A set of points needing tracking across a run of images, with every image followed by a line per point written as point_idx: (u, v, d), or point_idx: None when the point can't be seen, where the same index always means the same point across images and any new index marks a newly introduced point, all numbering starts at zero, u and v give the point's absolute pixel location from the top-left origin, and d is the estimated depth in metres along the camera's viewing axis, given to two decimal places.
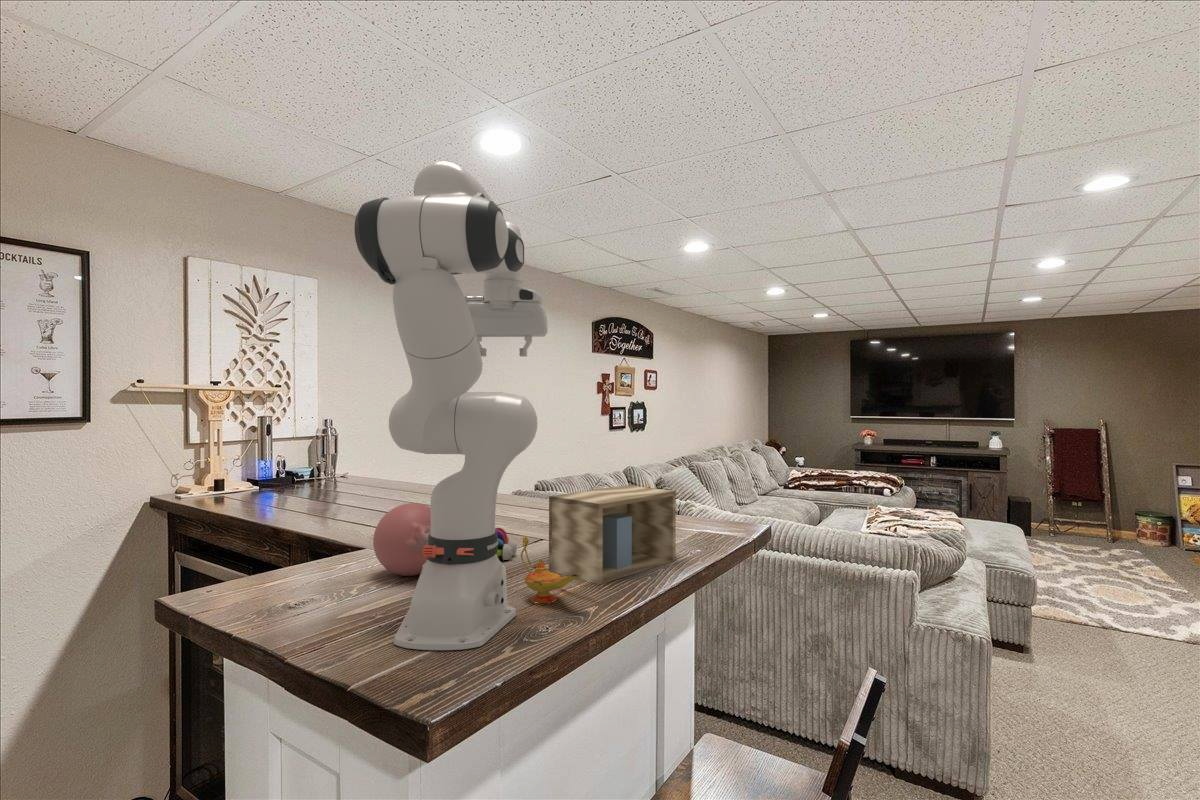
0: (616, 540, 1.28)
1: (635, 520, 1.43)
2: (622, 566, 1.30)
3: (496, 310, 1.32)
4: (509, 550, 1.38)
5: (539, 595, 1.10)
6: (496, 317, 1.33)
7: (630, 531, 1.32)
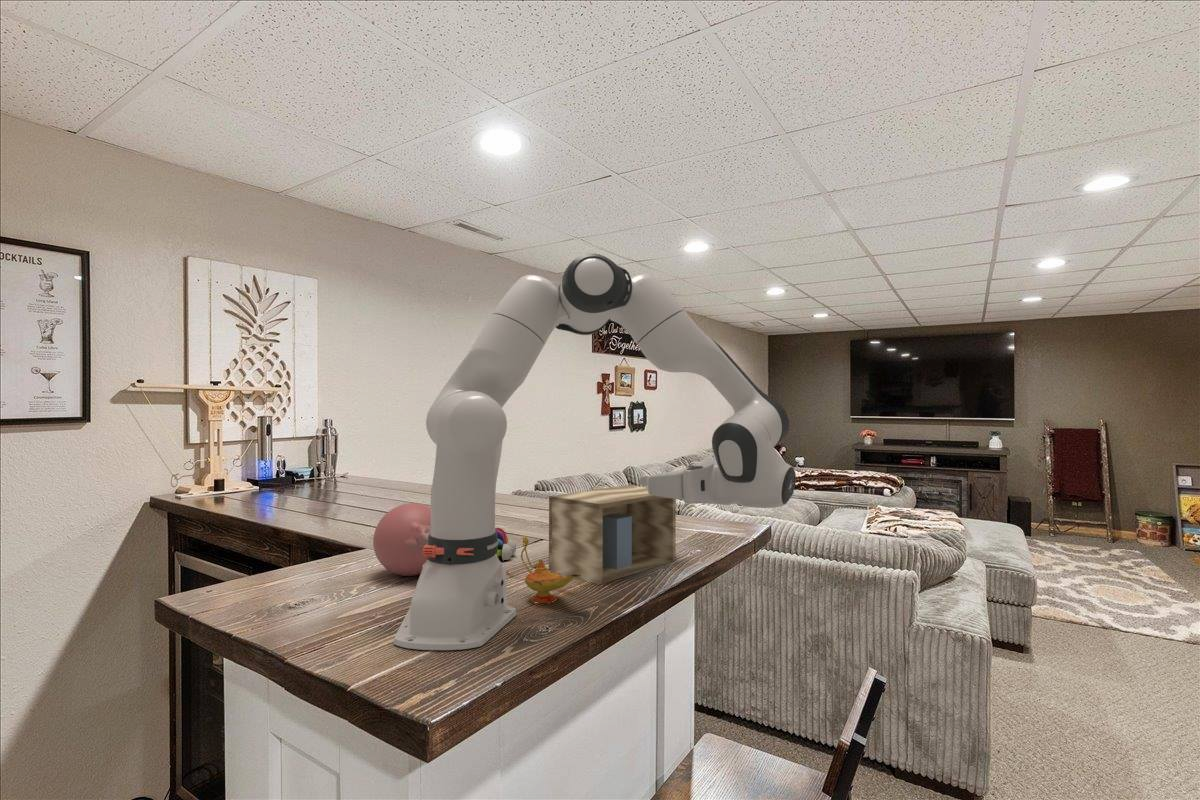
0: (616, 540, 1.28)
1: (635, 520, 1.43)
2: (622, 566, 1.30)
3: None
4: (508, 550, 1.38)
5: (539, 595, 1.10)
6: None
7: (630, 531, 1.32)
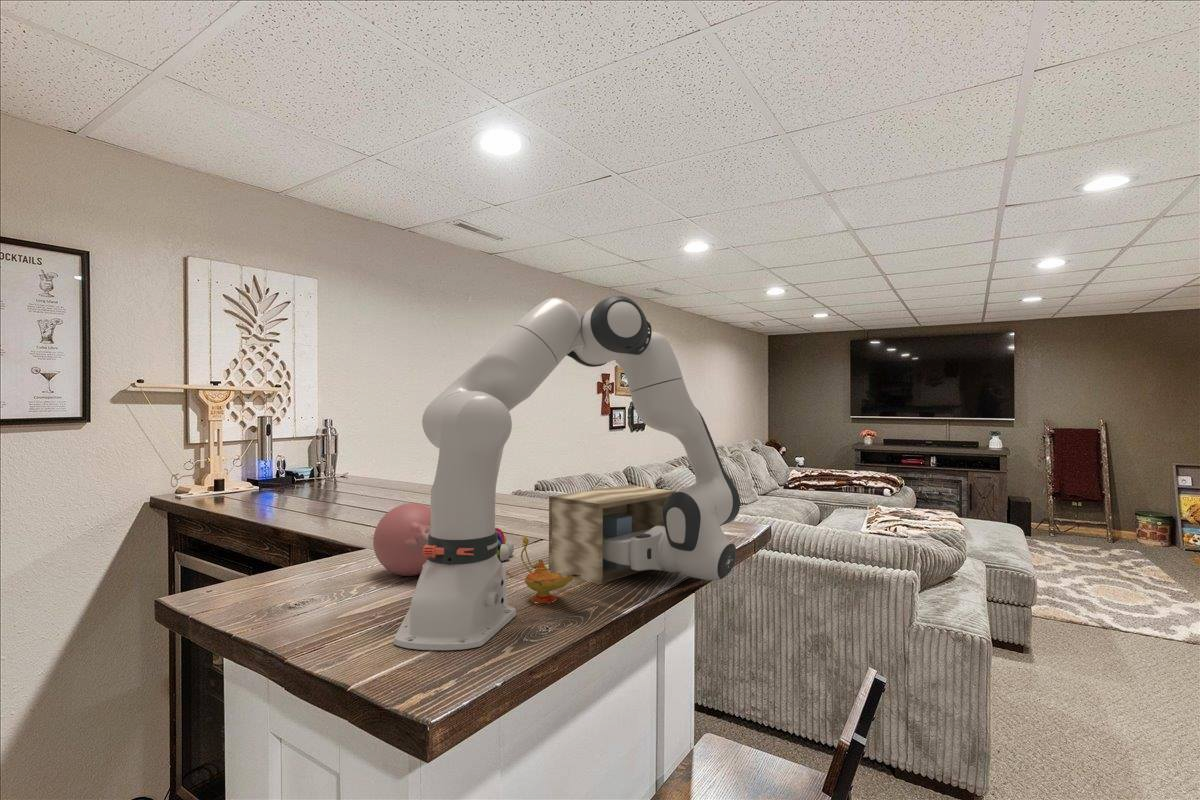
0: None
1: (635, 520, 1.43)
2: (622, 566, 1.30)
3: None
4: (506, 550, 1.38)
5: (539, 595, 1.10)
6: None
7: (630, 531, 1.32)
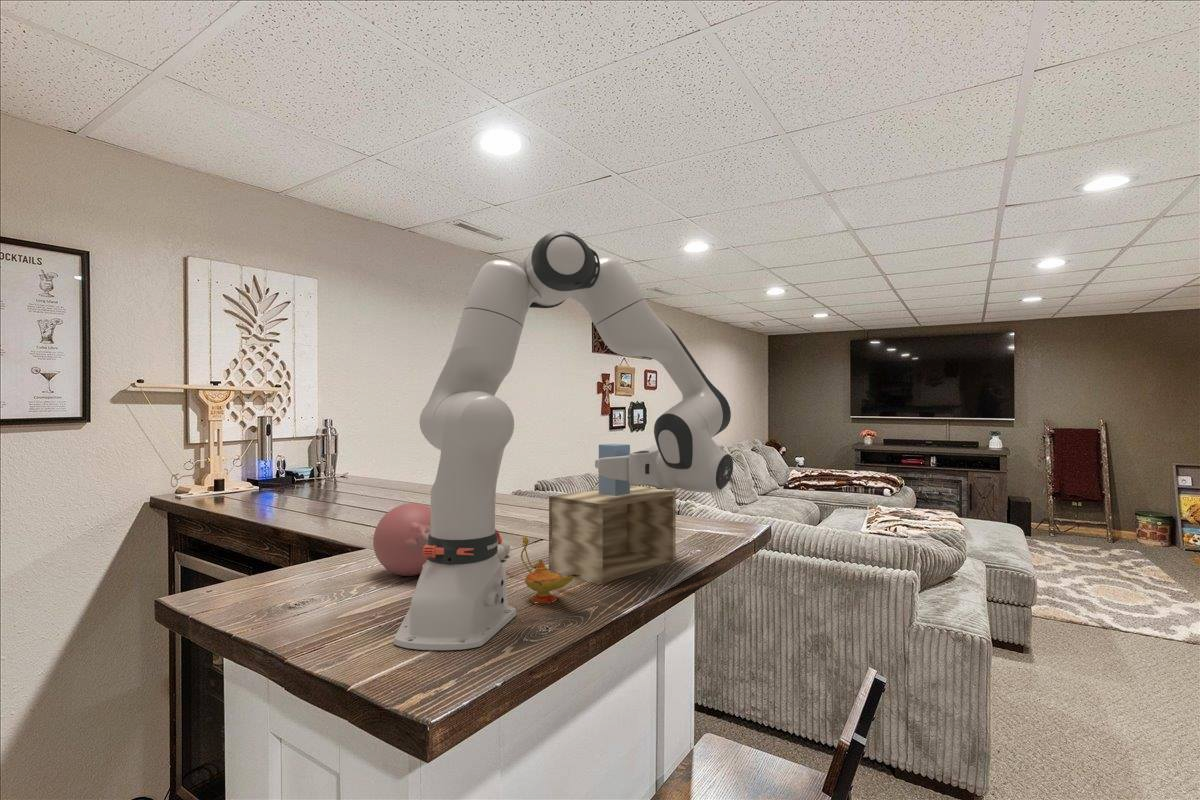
0: None
1: (635, 520, 1.43)
2: (620, 493, 1.30)
3: None
4: (502, 551, 1.38)
5: (539, 595, 1.10)
6: None
7: None
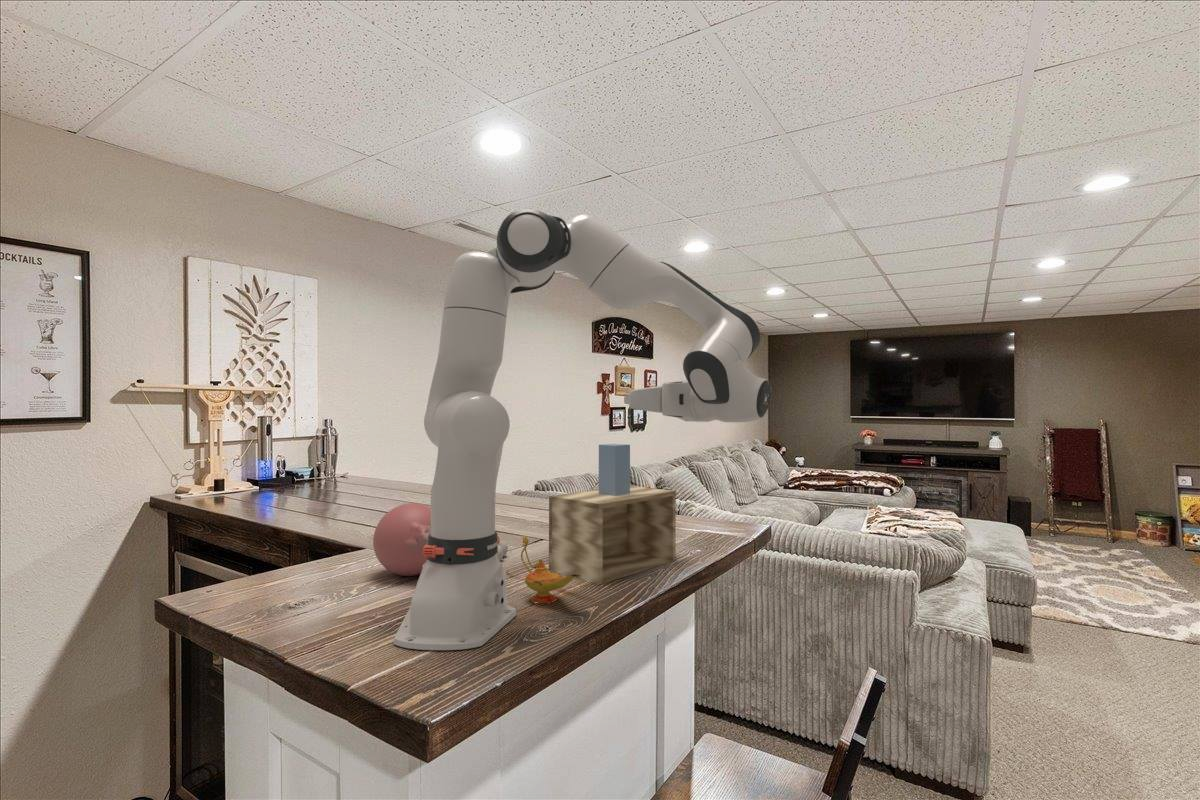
0: (614, 466, 1.29)
1: (635, 520, 1.43)
2: (620, 493, 1.30)
3: None
4: (500, 551, 1.37)
5: (539, 595, 1.10)
6: None
7: (628, 460, 1.32)
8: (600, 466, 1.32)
